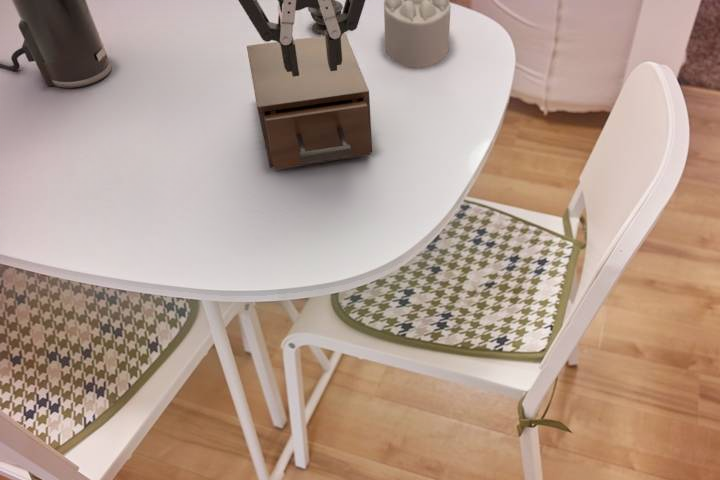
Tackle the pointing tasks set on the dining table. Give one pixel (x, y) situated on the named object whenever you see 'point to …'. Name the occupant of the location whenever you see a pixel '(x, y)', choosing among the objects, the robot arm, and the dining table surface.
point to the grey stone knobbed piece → (318, 18)
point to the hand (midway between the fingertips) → (313, 69)
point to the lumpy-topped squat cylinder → (417, 31)
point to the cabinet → (303, 79)
